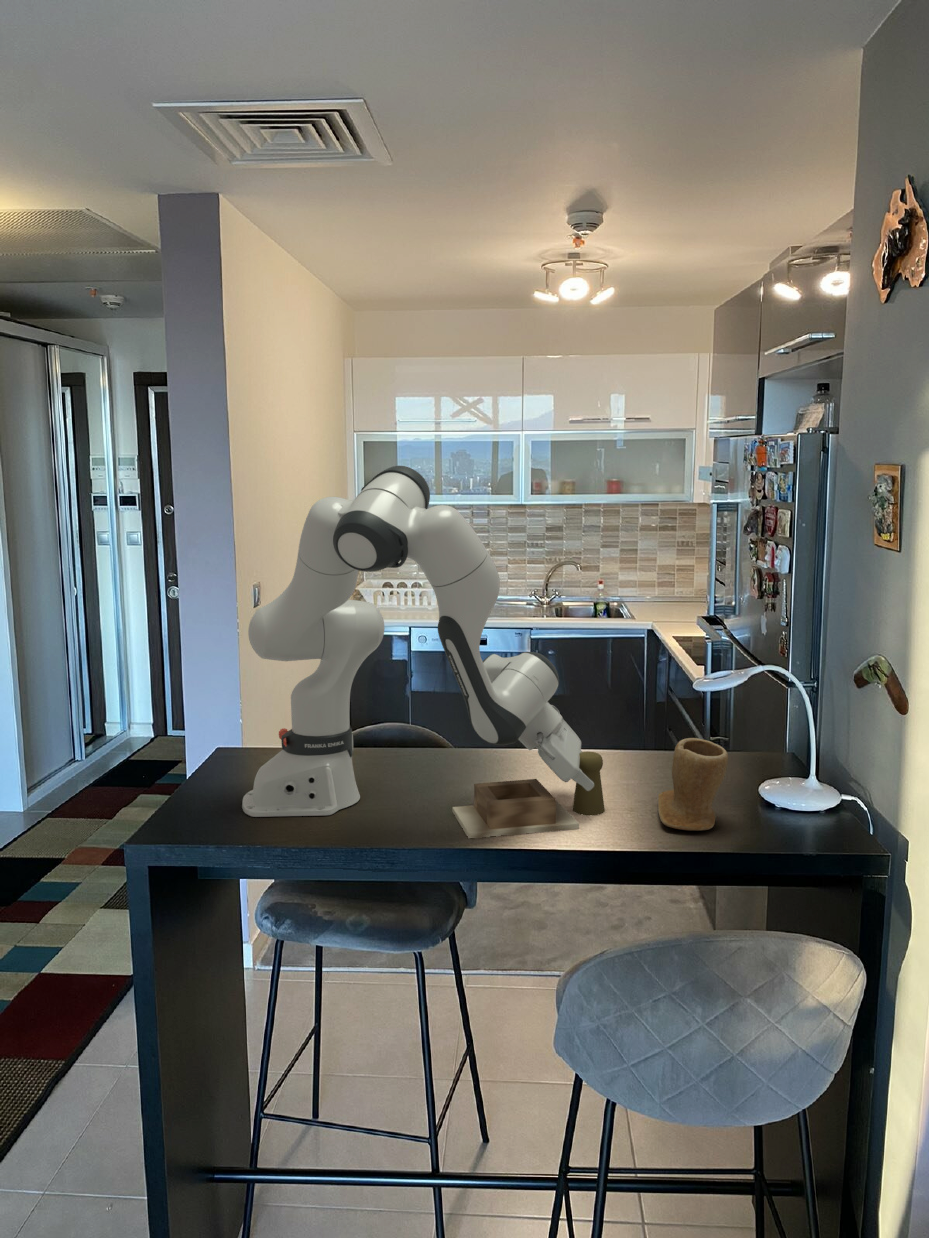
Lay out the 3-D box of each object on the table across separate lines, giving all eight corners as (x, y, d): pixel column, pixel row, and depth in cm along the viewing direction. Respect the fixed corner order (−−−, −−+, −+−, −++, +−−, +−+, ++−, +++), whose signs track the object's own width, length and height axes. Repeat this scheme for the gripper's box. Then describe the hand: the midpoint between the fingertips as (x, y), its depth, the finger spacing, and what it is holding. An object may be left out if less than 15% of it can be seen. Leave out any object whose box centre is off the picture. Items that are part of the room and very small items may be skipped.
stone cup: (728, 838, 166) (730, 753, 163) (657, 833, 168) (659, 750, 166) (722, 808, 180) (724, 730, 178) (657, 805, 183) (659, 728, 180)
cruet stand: (468, 838, 166) (468, 808, 166) (452, 812, 180) (452, 783, 179) (579, 828, 171) (579, 798, 170) (554, 803, 184) (554, 775, 183)
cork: (595, 802, 184) (595, 747, 183) (610, 812, 179) (611, 755, 177) (566, 806, 182) (567, 750, 181) (581, 817, 177) (581, 759, 175)
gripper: (548, 730, 169) (604, 785, 169) (554, 703, 189) (604, 753, 189) (523, 754, 170) (578, 809, 170) (531, 724, 190) (581, 774, 190)
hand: (592, 779), depth 179 cm, fingers open, 8 cm apart
